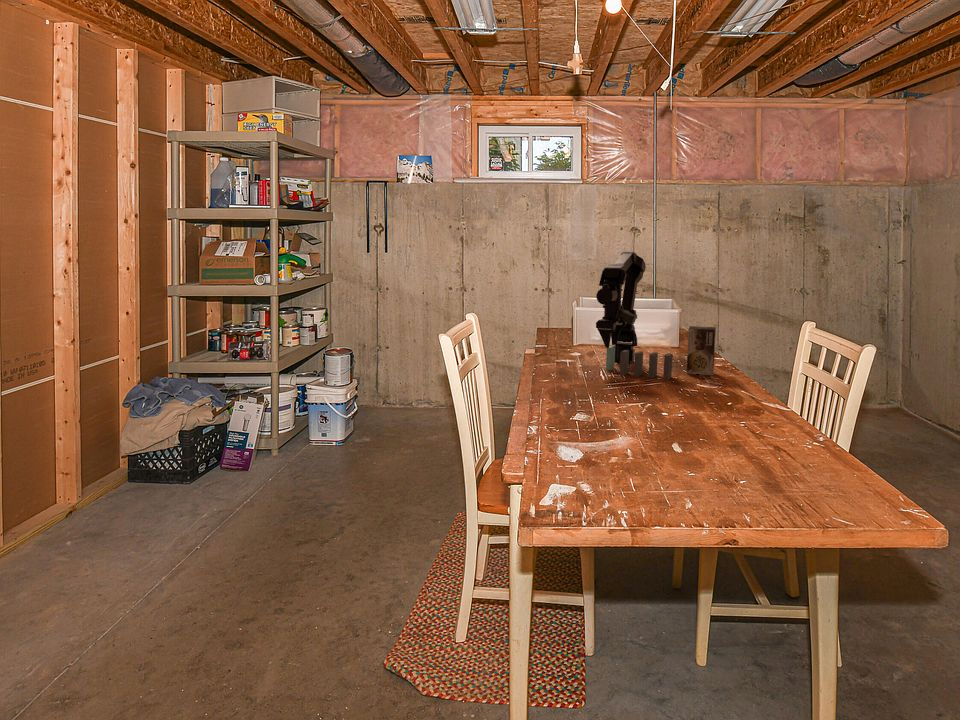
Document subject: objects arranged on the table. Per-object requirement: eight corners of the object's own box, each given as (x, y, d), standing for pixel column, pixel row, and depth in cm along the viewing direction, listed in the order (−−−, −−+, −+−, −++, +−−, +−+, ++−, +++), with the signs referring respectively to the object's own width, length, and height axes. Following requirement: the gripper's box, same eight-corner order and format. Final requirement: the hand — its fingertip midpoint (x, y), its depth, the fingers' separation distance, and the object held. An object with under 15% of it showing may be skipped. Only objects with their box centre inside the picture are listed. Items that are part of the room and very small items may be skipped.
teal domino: (605, 369, 275) (606, 347, 273) (610, 367, 279) (610, 345, 278) (610, 370, 274) (611, 347, 273) (614, 367, 278) (615, 345, 277)
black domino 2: (619, 374, 265) (620, 351, 264) (623, 372, 270) (624, 349, 268) (624, 375, 265) (625, 352, 263) (628, 372, 269) (629, 350, 268)
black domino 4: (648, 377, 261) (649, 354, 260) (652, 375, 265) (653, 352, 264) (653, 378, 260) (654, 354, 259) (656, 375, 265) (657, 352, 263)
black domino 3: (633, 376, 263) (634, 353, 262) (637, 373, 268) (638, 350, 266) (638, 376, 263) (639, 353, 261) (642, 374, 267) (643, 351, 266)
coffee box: (713, 372, 271) (716, 326, 268) (713, 376, 265) (716, 329, 262) (687, 370, 274) (689, 325, 271) (685, 374, 268) (688, 327, 265)
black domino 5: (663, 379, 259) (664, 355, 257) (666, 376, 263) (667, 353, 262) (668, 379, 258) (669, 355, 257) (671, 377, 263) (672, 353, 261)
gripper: (627, 305, 261) (626, 351, 263) (642, 301, 277) (640, 344, 280) (596, 304, 266) (594, 349, 268) (612, 299, 282) (610, 341, 285)
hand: (611, 346), depth 275 cm, fingers open, 9 cm apart
